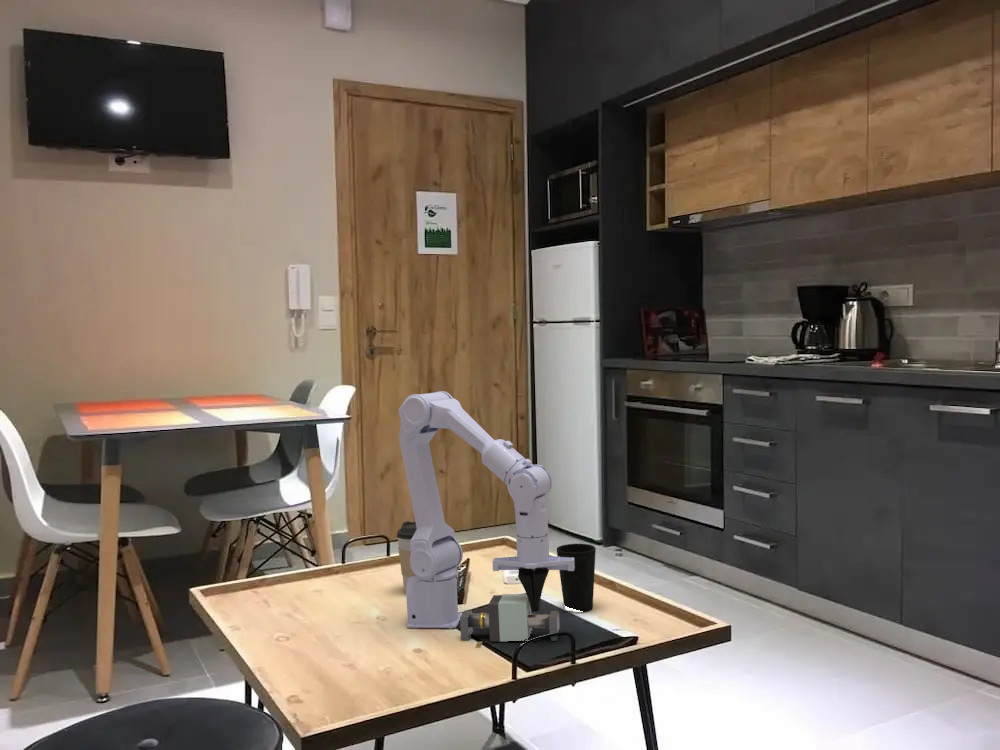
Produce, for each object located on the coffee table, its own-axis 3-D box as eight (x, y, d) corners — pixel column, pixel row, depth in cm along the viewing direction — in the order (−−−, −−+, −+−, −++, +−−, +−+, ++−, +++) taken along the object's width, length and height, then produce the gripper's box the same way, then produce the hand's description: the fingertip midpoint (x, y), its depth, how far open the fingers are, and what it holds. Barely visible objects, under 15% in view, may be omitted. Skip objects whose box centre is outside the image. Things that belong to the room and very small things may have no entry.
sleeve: (499, 641, 153) (498, 603, 153) (504, 630, 159) (503, 594, 158) (527, 641, 152) (526, 603, 152) (531, 631, 158) (530, 594, 158)
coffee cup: (449, 588, 188) (446, 520, 188) (424, 600, 181) (420, 528, 180) (416, 584, 193) (413, 517, 193) (390, 594, 186) (387, 525, 185)
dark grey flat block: (489, 641, 153) (488, 604, 153) (495, 630, 159) (493, 595, 159) (499, 641, 153) (498, 604, 153) (504, 630, 159) (503, 595, 158)
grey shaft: (457, 647, 152) (455, 622, 152) (465, 632, 159) (464, 609, 159) (555, 648, 149) (554, 623, 149) (559, 633, 156) (558, 610, 156)
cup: (596, 614, 166) (593, 553, 166) (556, 614, 168) (554, 552, 167) (599, 602, 174) (597, 543, 173) (561, 602, 175) (559, 543, 175)
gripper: (488, 540, 151) (491, 616, 152) (571, 539, 149) (574, 617, 150) (494, 531, 158) (498, 604, 159) (574, 530, 156) (577, 604, 156)
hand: (535, 609), depth 155 cm, fingers closed
